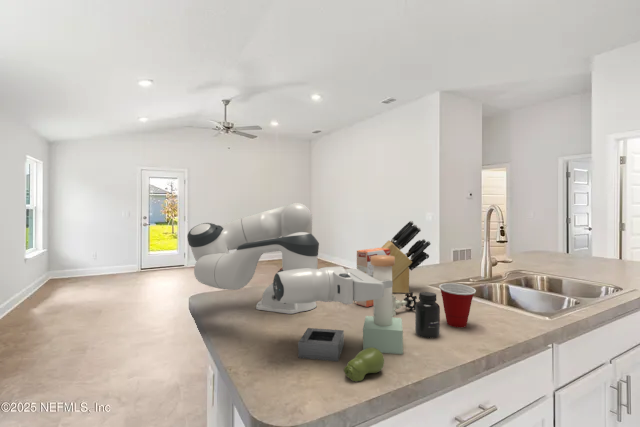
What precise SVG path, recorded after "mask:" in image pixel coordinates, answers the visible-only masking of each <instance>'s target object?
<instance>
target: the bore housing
mask: <svg viewBox="0 0 640 427" xmlns="http://www.w3.org/2000/svg"><path fill="white" fill-rule="evenodd" d="M344 332H345V330H344V329H343V330H342V329H332V328H331V329H329V328H313V327H312V328H311V327H308V328H307V329H306V330H305V331H304V333H303V335H302V336H301V338H300V339H299V341H298V343H297V344H298V345H297V347H298V350H297V351H298V354H297V356H298V359H304V358H306V359H305V360H316V359H318V360H317V361H327V360H328V362H330V361H331V362H339V360H340V357H341V355H340V354H342V352H343V348H344V346H345V339H344V338H345V336H344V335H345V333H344Z"/></svg>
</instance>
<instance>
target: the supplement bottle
mask: <svg viewBox="0 0 640 427" xmlns="http://www.w3.org/2000/svg"><path fill="white" fill-rule="evenodd" d="M416 302H417V303H416V306H415V310H414V312H415V316H414V318H415V319H414V320H415V321H414V322H415V325H414V328H415V329H414V330H415V331H414V332H415V334H416V335H417V336H419V337H422V338H426V339H436V338H438V337H439V336H440V334H441V333H440V331H441V330H440V329H441V328H440V326H441V325H440V322H441V321H440V320H441V310H440V309H441V308H440V305H439V304H438V302H437V293H436V292H435V293H434V292H431V291H420V292H418V301H416Z"/></svg>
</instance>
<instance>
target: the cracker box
mask: <svg viewBox="0 0 640 427" xmlns="http://www.w3.org/2000/svg"><path fill="white" fill-rule="evenodd" d="M374 255H389V256H390V249H388V248H381V247H375V248H367V249H360V250H359V249H358V250H356V269H358V270H360V271H362V272H364V273H366V274H373V265H371V256H374ZM356 305H359V306H361V307H366V308H369V307H372V306H373V307H374V300H367V301H356Z"/></svg>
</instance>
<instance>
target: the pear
mask: <svg viewBox="0 0 640 427" xmlns="http://www.w3.org/2000/svg"><path fill="white" fill-rule="evenodd" d="M384 365H385V358H384V353H381V352H380V351H379V350H378V349H376V348H367V349H364V350H363V349H362V350H361V351H359V352H358V353H357V354H356V355H355V357H354V358H352V359H351V360H349V361H348V362H347V365H345V367H344V368H343V371H344V374H345V376H346V377H347V378H348V377H349V378H350V379H349V378H348V379H349V380H351V379H352V380H353V382H354V381H359V382H361V381H363V380H364V378H365V376H366V375H367V374H376V373H378V372H381V370H382V369H383V367H384ZM352 380H351V381H352Z"/></svg>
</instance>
